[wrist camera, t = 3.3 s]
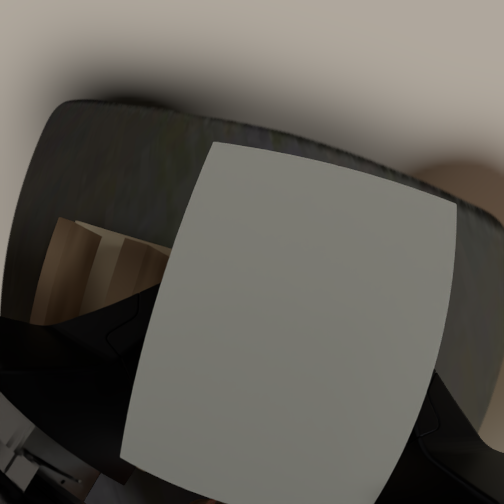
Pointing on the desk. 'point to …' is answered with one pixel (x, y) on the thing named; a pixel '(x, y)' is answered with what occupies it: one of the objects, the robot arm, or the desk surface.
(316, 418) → the clay bar
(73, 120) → the desk surface
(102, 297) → the rack
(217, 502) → the tin
